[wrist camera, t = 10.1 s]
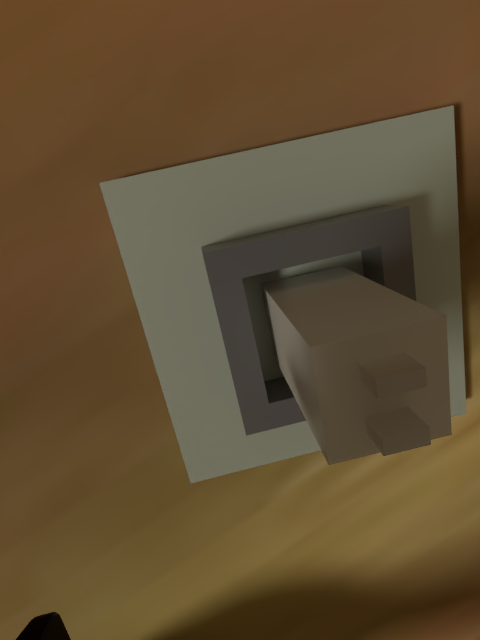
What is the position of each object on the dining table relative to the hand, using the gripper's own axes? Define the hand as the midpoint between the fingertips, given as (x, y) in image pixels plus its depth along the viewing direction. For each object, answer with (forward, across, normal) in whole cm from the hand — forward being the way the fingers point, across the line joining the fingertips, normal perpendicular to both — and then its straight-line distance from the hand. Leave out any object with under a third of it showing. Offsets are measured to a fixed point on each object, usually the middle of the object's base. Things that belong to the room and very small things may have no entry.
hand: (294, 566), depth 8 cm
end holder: (+12, -4, -1) cm, 12 cm away
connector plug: (+11, -4, -1) cm, 11 cm away
